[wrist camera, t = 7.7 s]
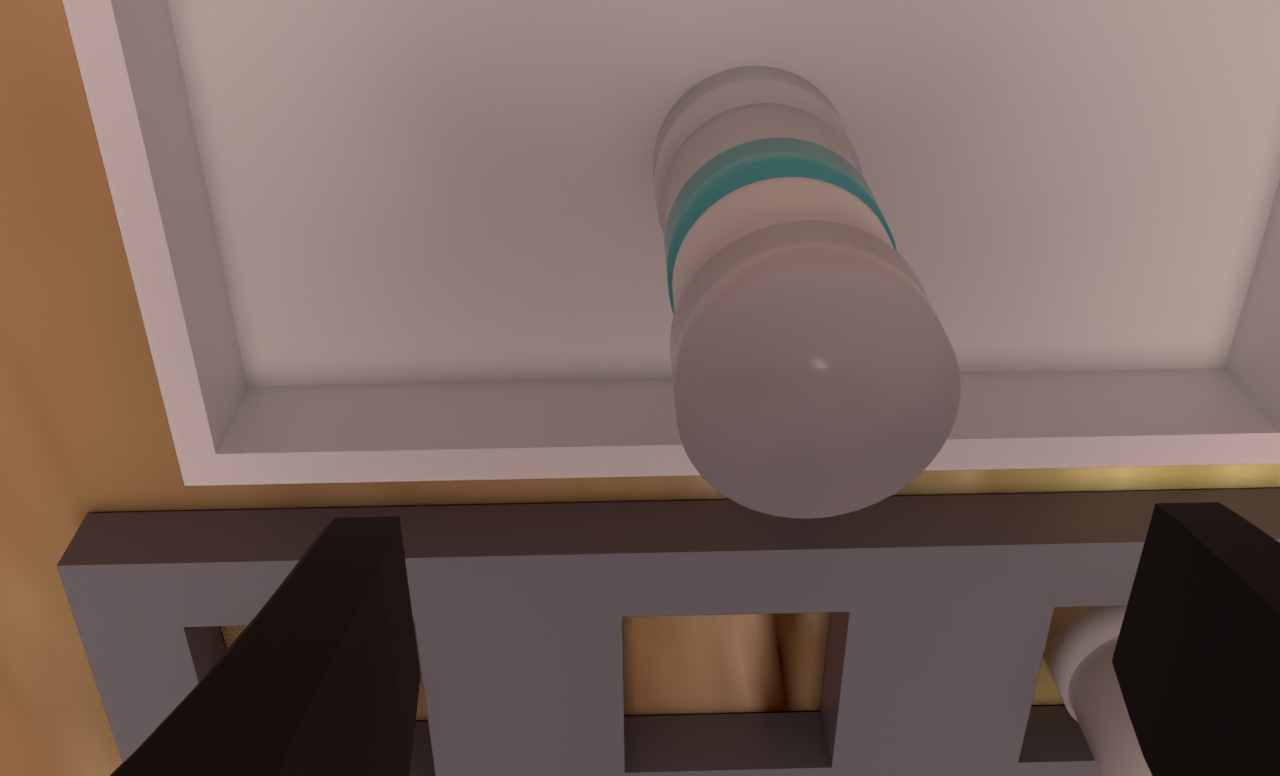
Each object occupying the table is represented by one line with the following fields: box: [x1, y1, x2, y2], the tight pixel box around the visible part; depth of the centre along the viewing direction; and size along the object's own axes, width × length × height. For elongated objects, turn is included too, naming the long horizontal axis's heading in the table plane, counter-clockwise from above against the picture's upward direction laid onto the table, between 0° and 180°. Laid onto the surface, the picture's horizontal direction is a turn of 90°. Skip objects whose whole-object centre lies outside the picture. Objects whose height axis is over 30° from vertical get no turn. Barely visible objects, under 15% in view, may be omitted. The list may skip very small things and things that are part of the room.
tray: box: [63, 0, 1280, 486], centre depth 18 cm, size 10×18×2 cm, turn 90°
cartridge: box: [1043, 605, 1152, 776], centre depth 22 cm, size 3×3×7 cm
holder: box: [57, 488, 1280, 776], centre depth 24 cm, size 7×24×2 cm, turn 90°
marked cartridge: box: [653, 66, 961, 519], centre depth 16 cm, size 3×3×7 cm
